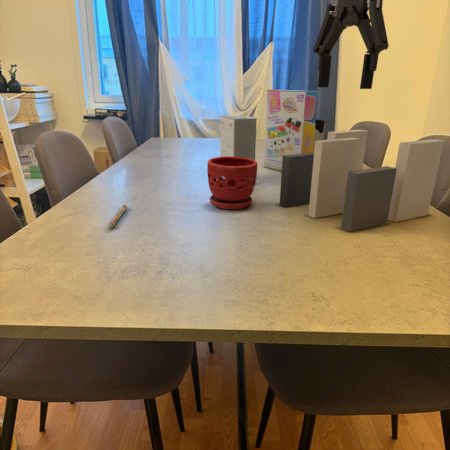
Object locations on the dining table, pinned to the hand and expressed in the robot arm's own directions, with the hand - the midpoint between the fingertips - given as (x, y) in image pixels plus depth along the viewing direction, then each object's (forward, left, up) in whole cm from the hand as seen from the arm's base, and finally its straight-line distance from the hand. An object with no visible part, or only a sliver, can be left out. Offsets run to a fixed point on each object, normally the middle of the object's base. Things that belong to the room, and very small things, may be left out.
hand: (343, 88), depth 98 cm
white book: (0, 0, -29) cm, 29 cm away
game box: (+51, -25, -29) cm, 64 cm away
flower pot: (+19, +18, -29) cm, 39 cm away
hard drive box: (+46, 0, -29) cm, 54 cm away
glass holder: (+69, -54, -29) cm, 92 cm away
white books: (0, -15, -29) cm, 33 cm away
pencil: (+22, +49, -29) cm, 61 cm away
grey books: (0, 0, -29) cm, 29 cm away
